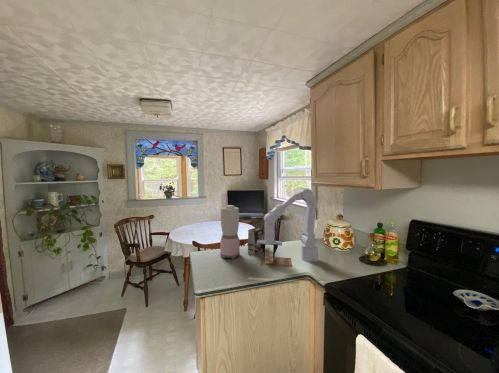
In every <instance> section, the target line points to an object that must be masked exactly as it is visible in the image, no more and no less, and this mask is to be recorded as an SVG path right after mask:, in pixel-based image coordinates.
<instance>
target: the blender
mask: <svg viewBox="0 0 499 373" xmlns="http://www.w3.org/2000/svg"><path fill="white" fill-rule="evenodd" d="M239 209H240V208H239V207H236V206H235V205H232V204H228V205H225V206H224V207H221V209H220V226H221V232H222V234H221V238H220V243H219V244H220V245H219V246H220V248H219V249H220V250H219V251H220V257H221V258H222V259H223V260H224V259H226V258H231V260H235V259H236V257H239V256H240V253H241V252H240V237H239V235H238V234H239V233H238V232H239V227H240V210H239Z"/></svg>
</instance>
